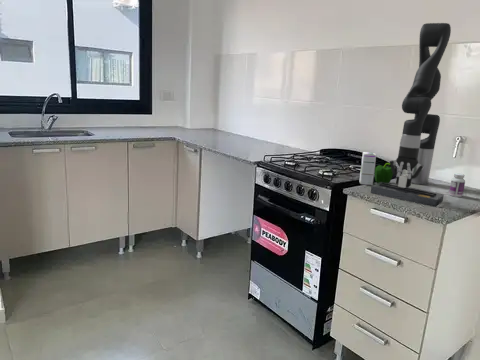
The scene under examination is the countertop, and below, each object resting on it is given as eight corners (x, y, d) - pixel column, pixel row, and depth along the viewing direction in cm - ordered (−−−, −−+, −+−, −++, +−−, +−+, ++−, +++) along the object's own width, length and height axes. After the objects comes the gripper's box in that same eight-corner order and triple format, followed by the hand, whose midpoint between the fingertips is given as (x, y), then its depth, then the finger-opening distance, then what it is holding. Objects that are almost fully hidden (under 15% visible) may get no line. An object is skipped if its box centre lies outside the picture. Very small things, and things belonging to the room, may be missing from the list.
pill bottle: (460, 194, 174) (465, 173, 171) (463, 197, 169) (467, 176, 166) (447, 193, 175) (451, 172, 173) (449, 196, 170) (453, 174, 168)
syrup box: (372, 185, 181) (377, 154, 177) (359, 184, 182) (363, 153, 178) (371, 182, 186) (375, 152, 183) (358, 181, 187) (362, 151, 184)
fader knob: (400, 186, 167) (402, 174, 166) (407, 188, 166) (409, 175, 164) (397, 188, 164) (399, 176, 163) (404, 190, 163) (406, 177, 161)
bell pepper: (369, 181, 189) (372, 160, 187) (382, 180, 193) (385, 160, 190) (381, 185, 182) (385, 164, 179) (395, 184, 185) (398, 163, 183)
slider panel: (380, 187, 177) (381, 180, 176) (442, 201, 162) (444, 192, 161) (370, 192, 168) (371, 184, 167) (435, 207, 152) (437, 198, 152)
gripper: (430, 147, 159) (422, 188, 163) (395, 142, 168) (389, 181, 172) (425, 149, 153) (417, 191, 158) (389, 144, 162) (383, 184, 166)
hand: (402, 186), depth 165 cm, fingers closed on fader knob, 3 cm apart
